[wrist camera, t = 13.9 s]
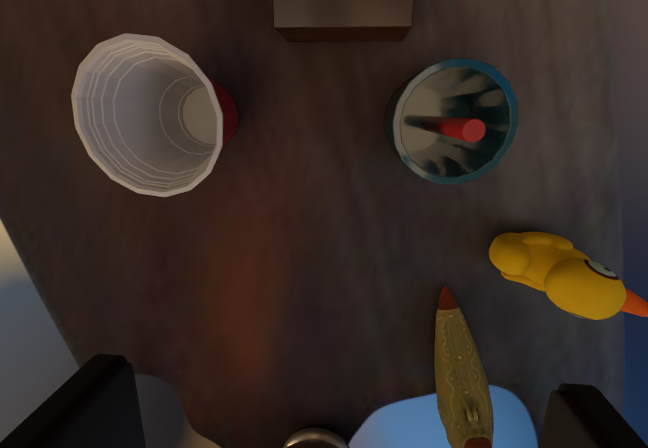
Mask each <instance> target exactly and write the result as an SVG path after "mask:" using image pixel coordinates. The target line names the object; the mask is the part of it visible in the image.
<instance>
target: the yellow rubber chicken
mask: <svg viewBox="0 0 648 448" xmlns="http://www.w3.org/2000/svg"><path fill="white" fill-rule="evenodd" d="M435 382H436V393H437V402H438V410H439V414H440V418H441V421H442V423H443V425H444V427H445V430H446V433H447V439H448V441H449V443H450V445H451V447H452V448H492V443H493V410H492V403H491V398H490V392H489V386H488V381H487V378H486V374H485V371H484V368H483V365H482V362H481V359H480V356H479V354H478V351H477V348H476V345H475V342H474V340H473V337H472V335H471V332H470V330H469V328H468V326H467V323H466V321H465V318H464V316H463V313H462V311H461V310H460V308H459V306H458V304H457V302H456V300H455V298H454V297H453V295H452V293H451V292H450V290H449V289H448V288H447V287H446V286H444V287H443V289H442V291H441V294H440V298H439V304H438V310H437V315H436V328H435Z"/></svg>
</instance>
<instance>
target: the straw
mask: <svg viewBox="0 0 648 448" xmlns="http://www.w3.org/2000/svg"><path fill="white" fill-rule="evenodd" d="M422 127H423V129H424V130H426V131H429V132H433V133H437V134H441V135H445V136H449V137H452V138H456V139H460V140H464V141H468V142H477V141H479V140H480V139H482V137H483V136H484V134H485V125H484V123H483V122H482V121H481V120H479V119H469V118H450V117H432V116H428V117H426V118H424V119H423V121H422Z"/></svg>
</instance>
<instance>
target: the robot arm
mask: <svg viewBox="0 0 648 448" xmlns="http://www.w3.org/2000/svg"><path fill="white" fill-rule="evenodd" d="M0 448H146V446H145V439H144V433H143V427H142V420H141V415H140V408H139V402H138V396H137V389H136V383H135V377H134V370H133V366H132V364H131V363H127V359H126V358H125V357H124V356H121V355H105V354H98V355H95V356H94V357H92V358H91V359H90V360H89V361H88V362H87V363H86V364H85V365H84V366H82V367H81V368H80V369H79V370H78V371H77V372H76V373H75V374H74V375H73V376H72V377H71V378H69V380H67V381H66V382H65V383H64V384H63V385H62V386H61V387H60V388H59V389H58V390H57V391H55V392H54V393H53V394H52V395H51V396H50V397H49V398H48V399H47V400H46V401H45V402H44V403H42V404H41V405H40V406H39V407H38V408H37V409H36V410H35V411H34V412H33V413H32V414H31V415H29V416H28V417H27V418H26V419H25V420H24V421H23V422H22V423H21V424H20V425H19V426H18V427H17V428H16V429H14V430H13V431H12V432H11V433H10V434H9V435H8V436H7V437H6V438H5V439H4V440H2V442H0ZM539 448H648V446H647V445H646V444H645V443H644V442H643V440H642V439H641V438H640V437H639V436H638V435H637V434H636V432H635V431H634V430H633V429H632V428H631V427H630V426H629V424H628V423H627V422H626V421H625V420H624V419H623V418H622V416H621V415H620V414H619V413H618V412H617V411H616V409H615V408H614V407H613V406H612V405H611V404H610V403H609V401H608V400H607V399H606V398H605V397H604V396H603V395H602V393H601V392H600V391H599V390H598V389H597V388H596V387H594V386H592V385H581V384H565V383H564V384H561V385H560V386H559V388H558V390H553V391H552V392H551V394H550V397H549V402H548V406H547V411H546V416H545V420H544V425H543V429H542V434H541V439H540V443H539Z"/></svg>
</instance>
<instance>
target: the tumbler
mask: <svg viewBox="0 0 648 448" xmlns="http://www.w3.org/2000/svg"><path fill="white" fill-rule="evenodd" d="M428 116H432V117H450V118H469V119H479V120H481V121H482V122H483V123H484V125H485V134H484V136H483V137H482V139H480V140H479V141H477V142H468V141H464V140H460V139H456V138H452V137H449V136H445V135H441V134H437V133H433V132H429V131H426V130H424V129H423V127H422V121H423V119H424V118H426V117H428ZM383 127H384V133H385V137H386V139H387V142H388V144H389V145H390V147H391V149H392V151H393V152H394V153H395V154H396V155H397V156H398V157H399V158H400V159H401V160H402V162H403V163H404V164H405V165H407V166H408V167H409V168H410V169H411V170H412V171H413V172H414V173H415V174H416V175H418V176H419V177H421V178H424V179H426V180H429V181H432V182H434V183H437V184H461V183H464V182H468V181H471V180H474V179H477V178H479V177H481V176H483V175H484V174H485V173H487V172H488V171H490V170H491V169H492V168H494V167H495V166H497V164H498V163H499V162H500V161H501V159H502V158H503V157H504V155H505V154H506V153H507V151H508V150H509V149H510V147H511V145H512V142H513V139H514V136H515V133H516V130H517V127H518V103H517V100H516V97H515V95H514V92H513V90H512V88H511V85H510V83H509V81H508V80H507V79H506V78H505V77H504V76H503V75H502V74H501V73H500V72H499V71H498V70H497V69H496V68H495V67H493V66H491V65H488V64H486V63H483V62H481V61H478V60H476V59H472V58H450V59H447V60H444V61H441V62H439V63H436V64H433V65H430V66H428V67H426V68H425V69H423V70H422V71H420V72H419V73H417V74H416V75H414V76H413V77H411V78H409V79H408V80H407V81H406V82H404V83H403V84H402V85H401V86H400V87H398V88H397V89H396V90H395V92H394V93H393V95H392V96H391V98H390V100H389V101H388V103H387V106H386V109H385V113H384V119H383Z"/></svg>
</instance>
